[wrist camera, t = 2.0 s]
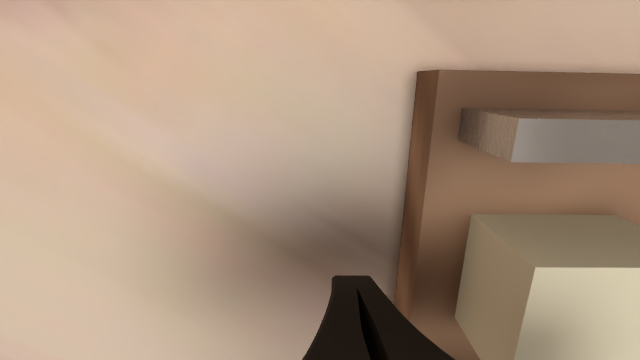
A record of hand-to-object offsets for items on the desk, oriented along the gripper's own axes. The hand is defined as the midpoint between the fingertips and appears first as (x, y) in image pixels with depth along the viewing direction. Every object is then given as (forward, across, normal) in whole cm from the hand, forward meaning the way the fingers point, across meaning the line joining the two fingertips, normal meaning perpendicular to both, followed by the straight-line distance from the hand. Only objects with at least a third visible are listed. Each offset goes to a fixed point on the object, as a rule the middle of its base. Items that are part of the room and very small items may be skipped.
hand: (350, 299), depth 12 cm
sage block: (+2, -8, 0) cm, 8 cm away
